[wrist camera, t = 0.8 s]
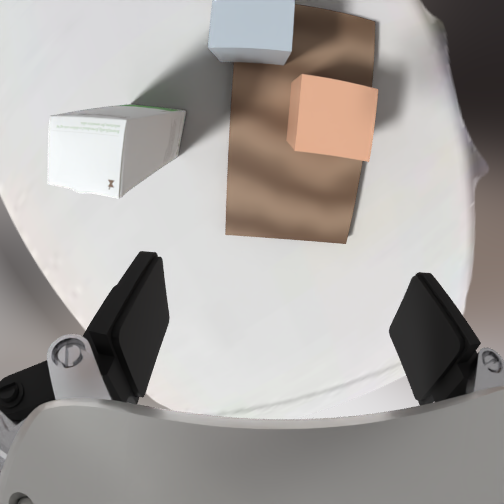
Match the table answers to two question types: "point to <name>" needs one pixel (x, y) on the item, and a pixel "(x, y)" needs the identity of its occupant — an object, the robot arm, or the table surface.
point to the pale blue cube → (252, 30)
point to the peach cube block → (331, 117)
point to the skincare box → (111, 147)
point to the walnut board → (275, 135)
